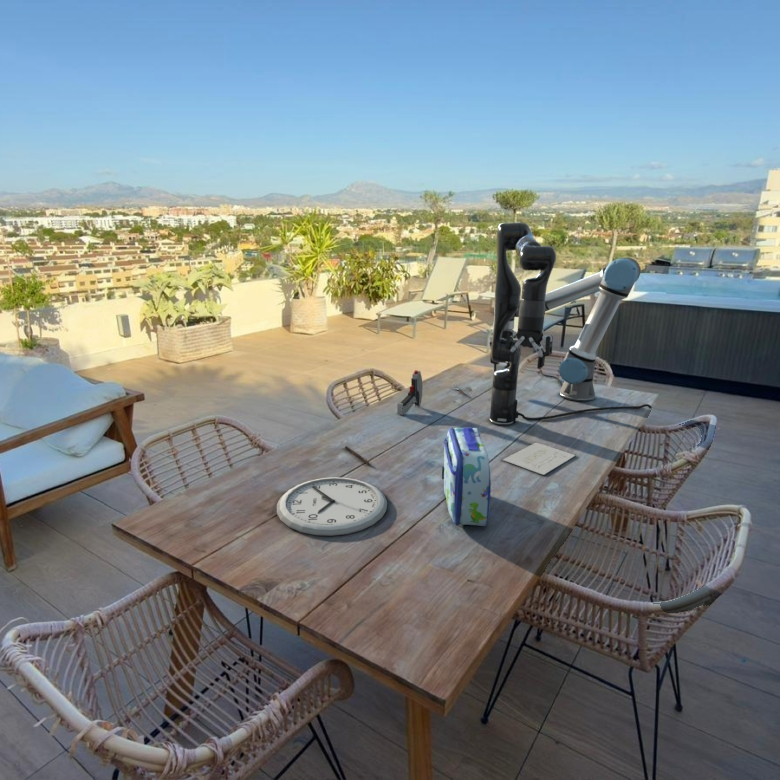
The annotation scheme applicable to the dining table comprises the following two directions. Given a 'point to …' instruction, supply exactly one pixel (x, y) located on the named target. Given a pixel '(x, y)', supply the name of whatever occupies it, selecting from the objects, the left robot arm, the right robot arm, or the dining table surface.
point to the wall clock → (331, 506)
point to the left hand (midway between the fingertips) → (526, 365)
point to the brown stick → (357, 455)
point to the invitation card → (539, 458)
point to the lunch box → (466, 477)
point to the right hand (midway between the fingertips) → (501, 379)
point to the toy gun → (412, 394)
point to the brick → (500, 366)
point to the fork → (458, 389)
